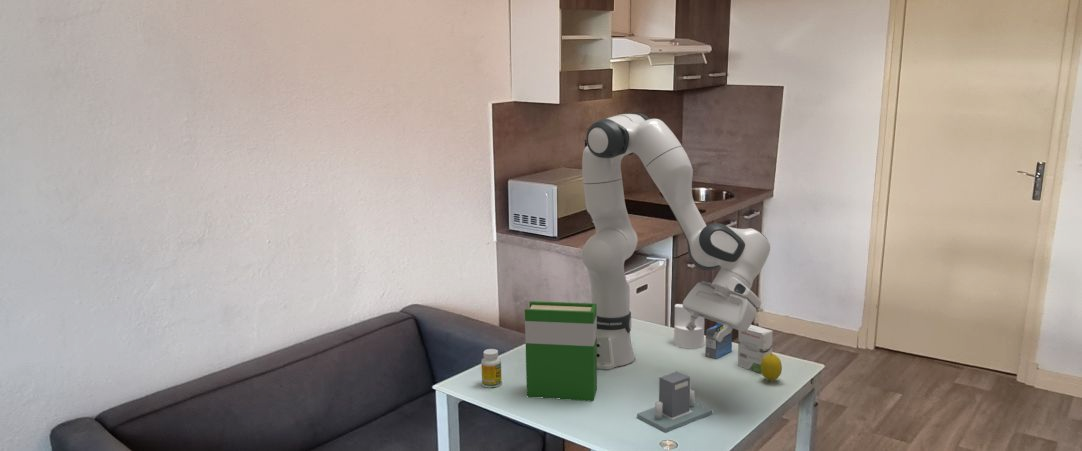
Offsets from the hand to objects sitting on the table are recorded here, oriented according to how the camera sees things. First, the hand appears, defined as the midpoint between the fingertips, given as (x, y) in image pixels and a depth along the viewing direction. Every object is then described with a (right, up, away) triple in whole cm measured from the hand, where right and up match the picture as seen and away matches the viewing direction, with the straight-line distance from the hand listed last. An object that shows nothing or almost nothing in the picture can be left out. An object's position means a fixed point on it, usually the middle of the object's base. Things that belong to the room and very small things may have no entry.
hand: (702, 334), depth 199 cm
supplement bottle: (-54, -16, +19) cm, 59 cm away
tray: (-7, -20, -2) cm, 21 cm away
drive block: (-7, -19, -2) cm, 20 cm away
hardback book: (-35, -17, +13) cm, 41 cm away
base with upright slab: (+5, -9, +47) cm, 48 cm away
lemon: (+22, -15, +18) cm, 32 cm away
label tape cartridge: (+12, -11, +38) cm, 42 cm away
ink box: (+20, -13, +27) cm, 36 cm away
